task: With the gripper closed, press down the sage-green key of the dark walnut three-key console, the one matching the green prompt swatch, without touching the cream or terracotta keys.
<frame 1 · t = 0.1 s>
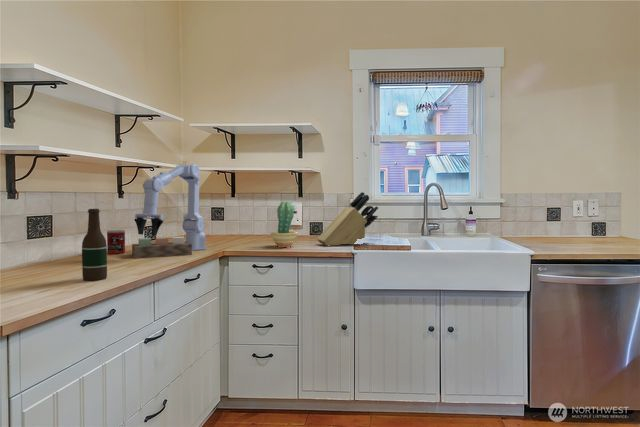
hand: (147, 234, 186), 11 cm above the countertop, tool pointing down, fingers open, 7 cm apart
canned food: (116, 253, 200), on the countertop
console: (162, 254, 197), on the countertop
potted cactus: (284, 247, 229), on the countertop
key terracotta: (162, 242, 197), point 6 cm above the countertop, slide at 0.0 cm
beer bottle: (95, 279, 141), on the countertop
key green: (144, 242, 193), point 6 cm above the countertop, slide at 0.0 cm
knife block: (348, 244, 242), on the countertop
key cream: (178, 241, 200), point 6 cm above the countertop, slide at 0.0 cm
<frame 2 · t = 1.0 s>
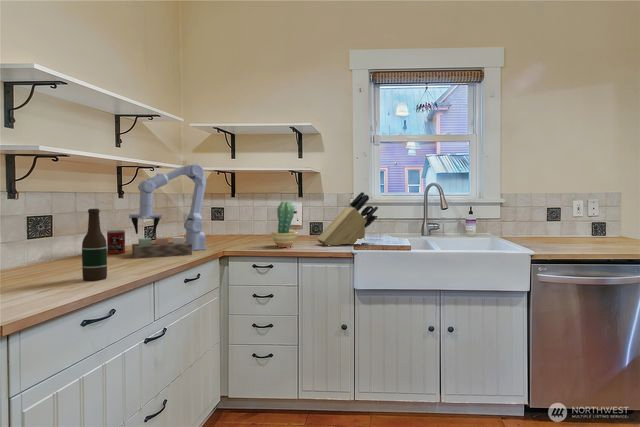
hand: (145, 233, 199), 10 cm above the countertop, tool pointing down, fingers open, 7 cm apart
nothing on the countertop moved.
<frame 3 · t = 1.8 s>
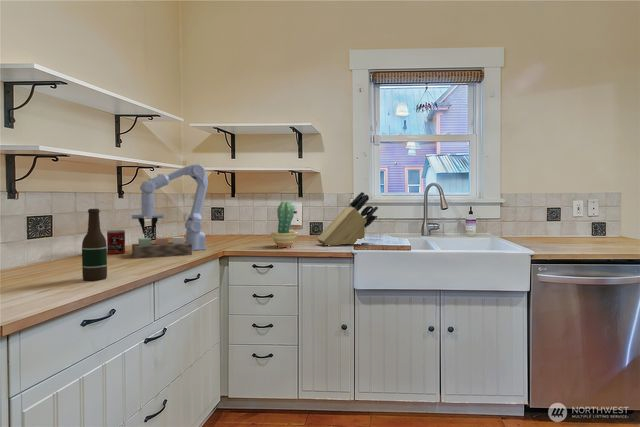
hand: (148, 233, 203), 9 cm above the countertop, tool pointing down, fingers open, 3 cm apart
nothing on the countertop moved.
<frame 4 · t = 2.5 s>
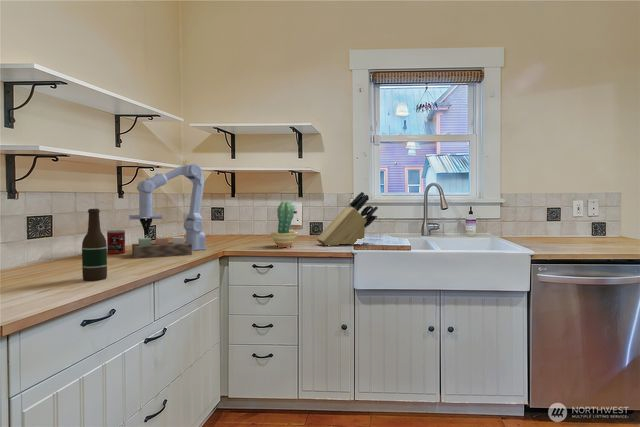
hand: (146, 234, 197), 9 cm above the countertop, tool pointing down, fingers closed
nothing on the countertop moved.
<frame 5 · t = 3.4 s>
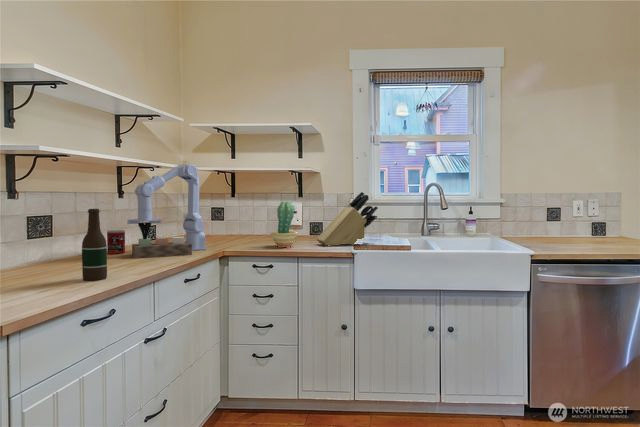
hand: (144, 239, 193), 8 cm above the countertop, tool pointing down, fingers closed, pressing on key green
key green: (144, 243, 193), point 6 cm above the countertop, slide at 0.1 cm, touching gripper
everything else where it was.
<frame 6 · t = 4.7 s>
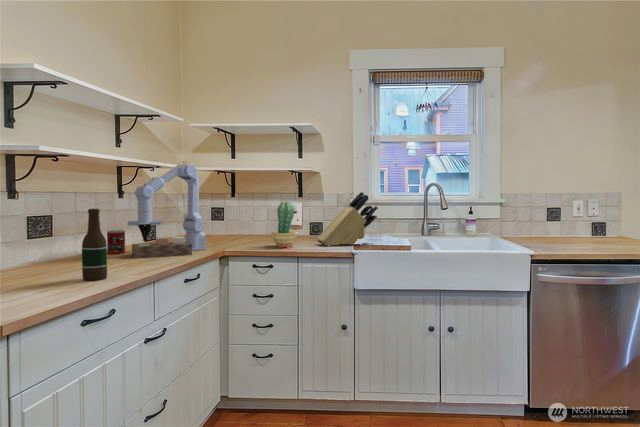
hand: (145, 240, 193), 7 cm above the countertop, tool pointing down, fingers closed
key green: (145, 249, 193), point 3 cm above the countertop, slide at 3.0 cm, touching console
everything else where it was.
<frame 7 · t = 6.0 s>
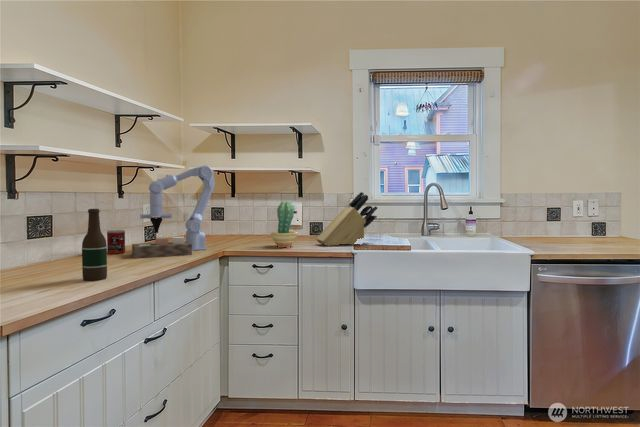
hand: (156, 232, 206), 9 cm above the countertop, tool pointing down, fingers closed
nothing on the countertop moved.
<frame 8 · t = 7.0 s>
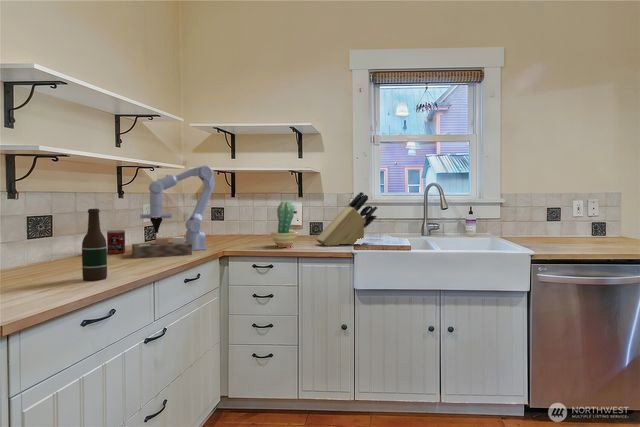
hand: (156, 232, 206), 9 cm above the countertop, tool pointing down, fingers closed
nothing on the countertop moved.
at the end: key green slide at 3.0 cm; key cream slide at 0.0 cm; key terracotta slide at 0.0 cm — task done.
